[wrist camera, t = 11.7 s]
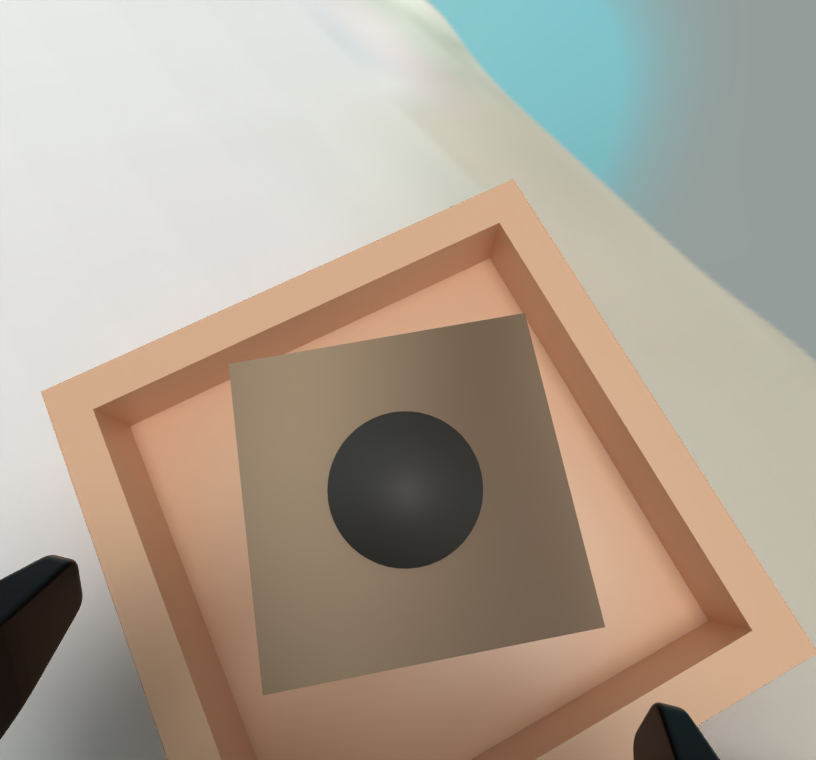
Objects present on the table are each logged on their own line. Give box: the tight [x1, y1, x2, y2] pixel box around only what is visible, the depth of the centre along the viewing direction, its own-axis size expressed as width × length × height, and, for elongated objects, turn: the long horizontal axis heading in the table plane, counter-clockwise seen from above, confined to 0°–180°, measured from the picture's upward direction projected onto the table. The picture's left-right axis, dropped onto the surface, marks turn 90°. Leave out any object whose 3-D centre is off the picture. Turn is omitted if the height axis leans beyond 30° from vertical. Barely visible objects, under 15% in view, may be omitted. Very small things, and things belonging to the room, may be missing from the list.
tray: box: [41, 179, 816, 760], centre depth 18 cm, size 16×16×3 cm
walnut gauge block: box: [229, 313, 605, 695], centre depth 14 cm, size 5×5×10 cm
